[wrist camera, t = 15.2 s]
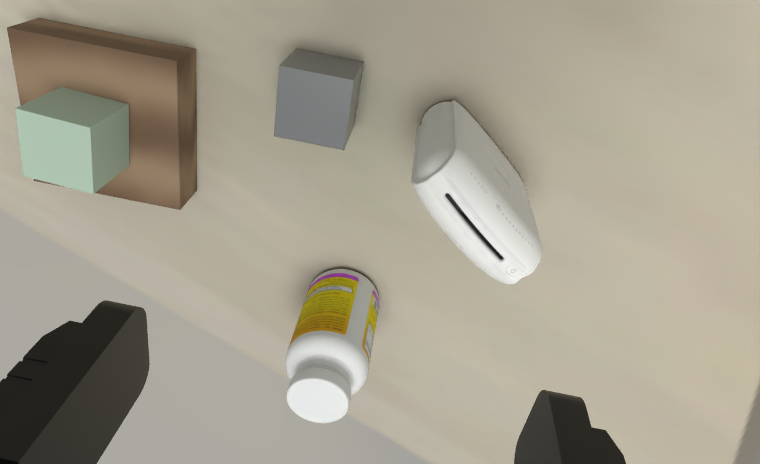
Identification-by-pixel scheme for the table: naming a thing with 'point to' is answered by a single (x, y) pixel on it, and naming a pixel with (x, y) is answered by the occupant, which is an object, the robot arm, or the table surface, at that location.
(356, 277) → the supplement bottle
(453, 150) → the photo printer
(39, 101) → the sage cube
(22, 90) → the walnut block
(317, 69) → the charcoal cube
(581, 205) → the table surface
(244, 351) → the table surface
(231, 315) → the table surface
